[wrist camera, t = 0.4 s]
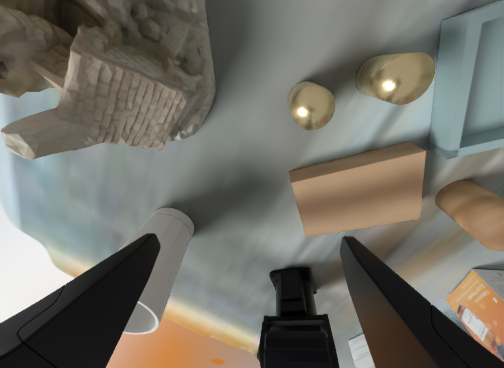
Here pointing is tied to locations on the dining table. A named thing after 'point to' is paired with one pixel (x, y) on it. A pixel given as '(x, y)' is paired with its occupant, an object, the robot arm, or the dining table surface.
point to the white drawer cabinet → (361, 352)
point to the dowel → (475, 211)
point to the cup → (160, 266)
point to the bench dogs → (366, 87)
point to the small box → (482, 307)
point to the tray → (469, 83)
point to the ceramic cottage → (106, 71)
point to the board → (361, 190)
